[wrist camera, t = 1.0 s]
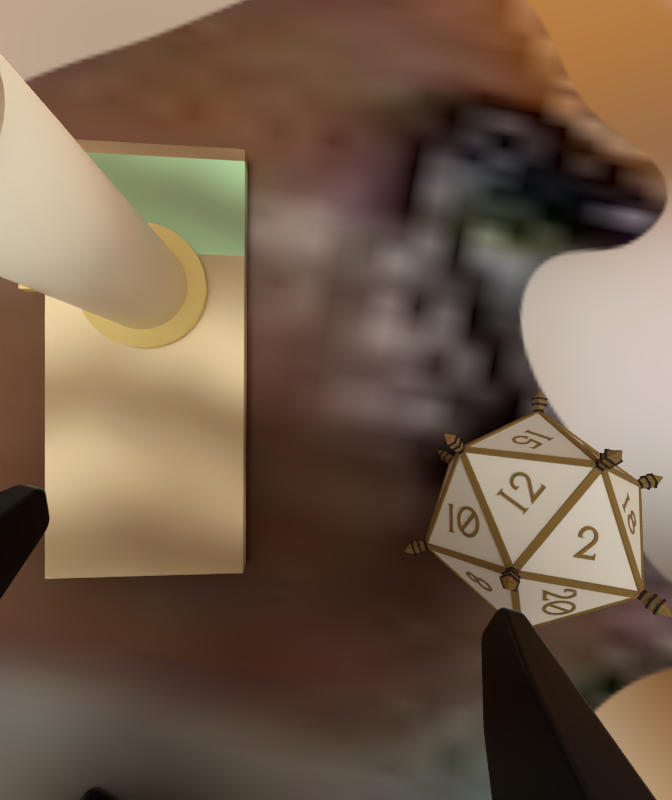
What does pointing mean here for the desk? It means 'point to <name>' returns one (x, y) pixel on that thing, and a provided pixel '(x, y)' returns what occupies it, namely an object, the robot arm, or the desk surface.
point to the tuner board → (155, 393)
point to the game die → (541, 521)
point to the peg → (86, 232)
